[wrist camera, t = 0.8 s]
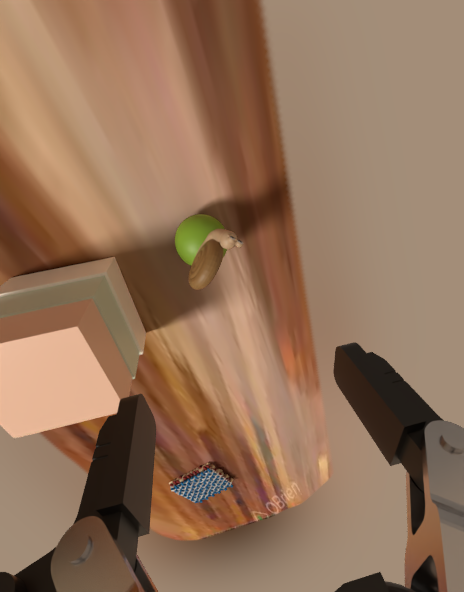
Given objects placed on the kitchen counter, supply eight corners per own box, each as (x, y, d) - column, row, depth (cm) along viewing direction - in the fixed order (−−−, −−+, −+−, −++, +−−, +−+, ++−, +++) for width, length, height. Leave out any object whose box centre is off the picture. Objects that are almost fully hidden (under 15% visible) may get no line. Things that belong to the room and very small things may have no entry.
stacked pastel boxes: (10, 277, 28) (-83, 355, 18) (114, 256, 29) (81, 319, 19) (60, 352, 34) (11, 442, 24) (146, 332, 35) (133, 412, 25)
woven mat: (209, 457, 53) (210, 468, 52) (234, 476, 59) (236, 486, 57) (166, 479, 55) (166, 490, 53) (195, 495, 60) (195, 506, 58)
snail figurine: (237, 215, 29) (269, 256, 19) (209, 263, 32) (225, 322, 21) (192, 190, 27) (202, 220, 17) (166, 244, 29) (161, 298, 19)
